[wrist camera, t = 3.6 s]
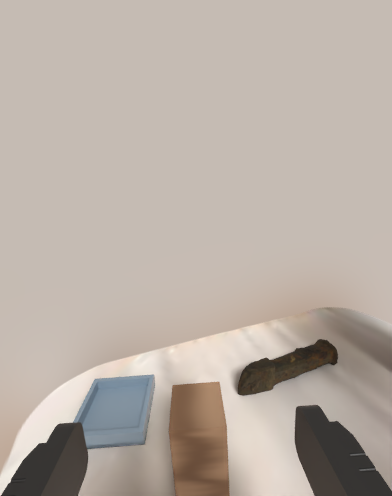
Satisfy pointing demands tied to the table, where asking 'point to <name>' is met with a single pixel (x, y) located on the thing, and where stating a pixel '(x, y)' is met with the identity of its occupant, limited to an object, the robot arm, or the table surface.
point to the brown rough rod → (285, 367)
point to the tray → (117, 411)
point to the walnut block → (199, 440)
